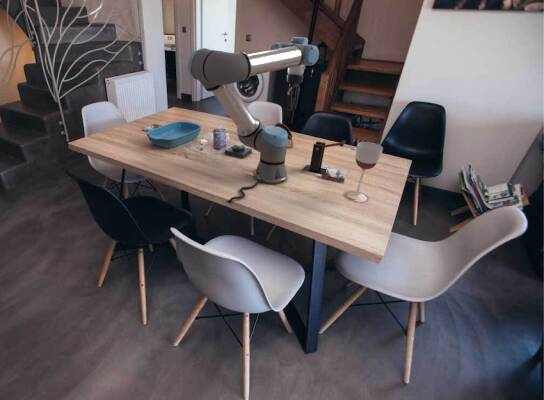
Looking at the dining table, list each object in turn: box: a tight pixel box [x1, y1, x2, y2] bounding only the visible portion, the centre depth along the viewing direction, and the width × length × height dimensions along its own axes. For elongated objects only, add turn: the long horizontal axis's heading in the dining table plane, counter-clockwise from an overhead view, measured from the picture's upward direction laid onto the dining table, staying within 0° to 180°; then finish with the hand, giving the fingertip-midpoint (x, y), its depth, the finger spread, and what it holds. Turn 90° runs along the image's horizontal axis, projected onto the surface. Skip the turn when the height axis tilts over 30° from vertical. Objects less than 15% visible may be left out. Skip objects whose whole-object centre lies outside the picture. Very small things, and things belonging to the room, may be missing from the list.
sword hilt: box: [274, 122, 294, 149], centre depth 185 cm, size 10×24×15 cm
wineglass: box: [346, 141, 384, 203], centre depth 127 cm, size 9×10×23 cm
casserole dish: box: [146, 120, 202, 149], centre depth 189 cm, size 37×22×7 cm, turn 146°
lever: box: [318, 139, 347, 149], centre depth 144 cm, size 13×6×2 cm, turn 58°
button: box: [234, 142, 243, 148], centre depth 171 cm, size 4×4×2 cm
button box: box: [224, 144, 253, 159], centre depth 173 cm, size 10×12×4 cm
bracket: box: [301, 141, 328, 176], centre depth 150 cm, size 11×8×15 cm
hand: (289, 122), depth 158 cm, fingers closed
